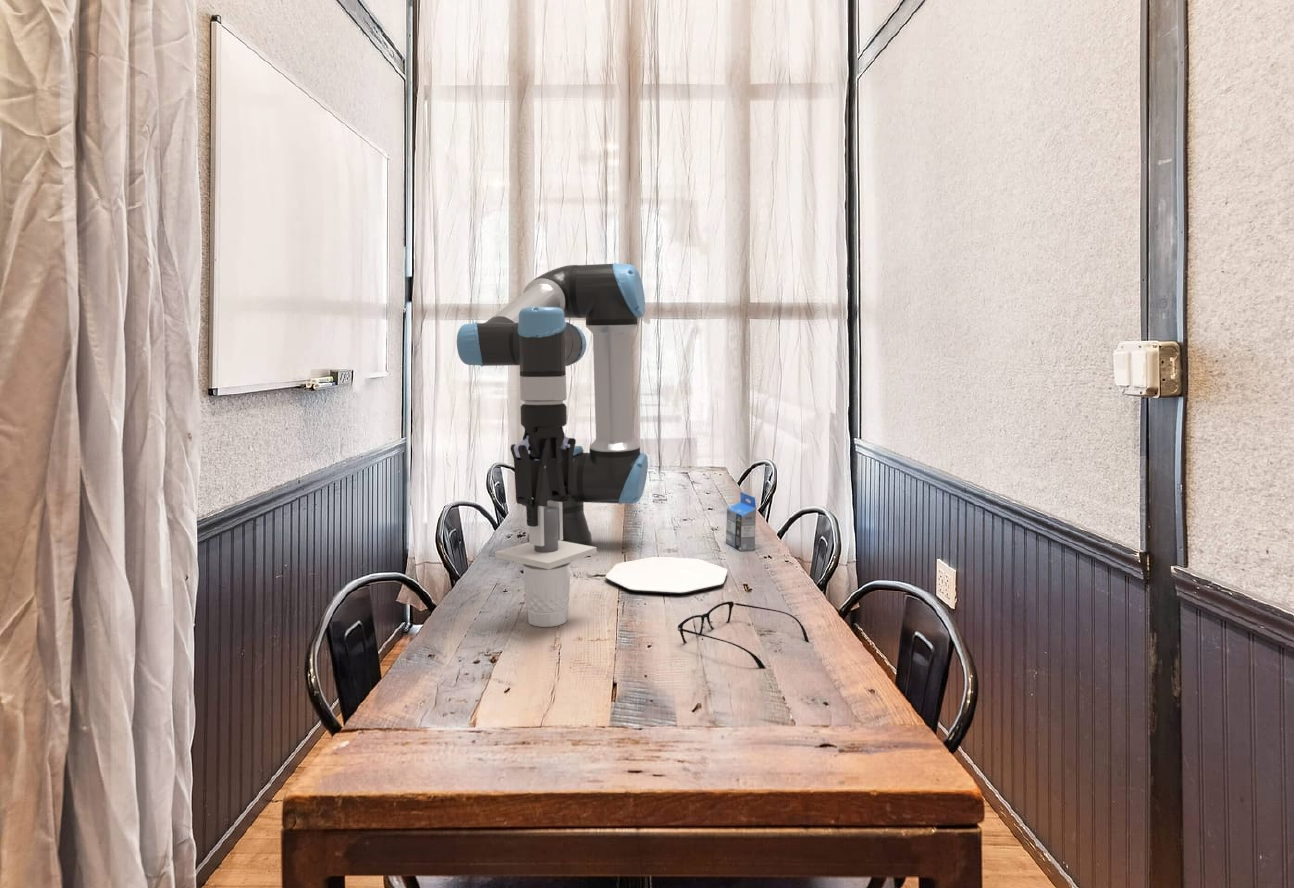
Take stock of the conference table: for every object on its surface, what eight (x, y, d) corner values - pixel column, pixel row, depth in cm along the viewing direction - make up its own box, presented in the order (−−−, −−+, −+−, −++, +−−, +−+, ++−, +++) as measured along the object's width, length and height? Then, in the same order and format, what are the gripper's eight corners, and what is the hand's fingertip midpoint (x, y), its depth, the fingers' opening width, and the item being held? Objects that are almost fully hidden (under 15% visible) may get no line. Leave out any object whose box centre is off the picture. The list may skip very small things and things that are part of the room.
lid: (544, 543, 136) (543, 499, 135) (596, 553, 129) (596, 506, 128) (495, 557, 126) (493, 510, 126) (548, 569, 120) (547, 519, 119)
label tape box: (725, 542, 182) (725, 492, 181) (740, 541, 183) (741, 491, 182) (740, 551, 174) (740, 498, 172) (756, 550, 175) (757, 497, 174)
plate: (719, 602, 140) (719, 594, 139) (595, 594, 144) (595, 586, 144) (731, 567, 163) (731, 560, 162) (623, 561, 167) (623, 555, 167)
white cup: (563, 630, 125) (561, 570, 123) (517, 627, 126) (516, 568, 125) (577, 614, 132) (576, 558, 131) (533, 611, 134) (532, 556, 133)
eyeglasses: (731, 620, 130) (731, 597, 130) (815, 641, 120) (815, 617, 120) (672, 648, 118) (672, 623, 117) (760, 675, 108) (760, 648, 107)
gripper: (560, 399, 134) (563, 529, 137) (489, 404, 120) (493, 549, 123) (593, 400, 130) (595, 535, 132) (523, 406, 116) (526, 556, 119)
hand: (546, 541), depth 128 cm, fingers closed on lid, 4 cm apart
